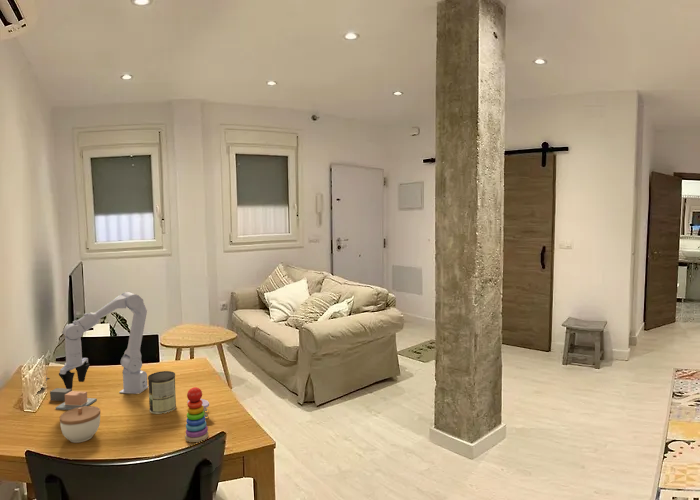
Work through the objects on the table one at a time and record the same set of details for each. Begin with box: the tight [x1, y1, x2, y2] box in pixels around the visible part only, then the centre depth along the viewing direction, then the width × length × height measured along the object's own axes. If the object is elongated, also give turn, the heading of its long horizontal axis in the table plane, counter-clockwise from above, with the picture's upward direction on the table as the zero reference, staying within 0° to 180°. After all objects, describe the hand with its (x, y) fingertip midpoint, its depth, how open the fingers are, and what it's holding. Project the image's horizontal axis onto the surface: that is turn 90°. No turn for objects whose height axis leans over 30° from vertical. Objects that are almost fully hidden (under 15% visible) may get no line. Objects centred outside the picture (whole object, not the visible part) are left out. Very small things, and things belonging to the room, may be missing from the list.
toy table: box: [186, 398, 210, 417], centre depth 186 cm, size 10×9×6 cm
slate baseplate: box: [55, 397, 98, 411], centre depth 196 cm, size 11×10×1 cm
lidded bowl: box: [59, 405, 101, 444], centre depth 168 cm, size 13×13×11 cm
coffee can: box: [147, 370, 177, 415], centre depth 192 cm, size 10×10×14 cm
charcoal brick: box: [49, 387, 73, 402], centre depth 202 cm, size 7×4×4 cm, turn 84°
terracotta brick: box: [64, 390, 88, 405], centre depth 196 cm, size 7×4×4 cm, turn 84°
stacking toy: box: [184, 386, 209, 443], centre depth 167 cm, size 8×8×19 cm
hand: (75, 385), depth 195 cm, fingers open, 7 cm apart
